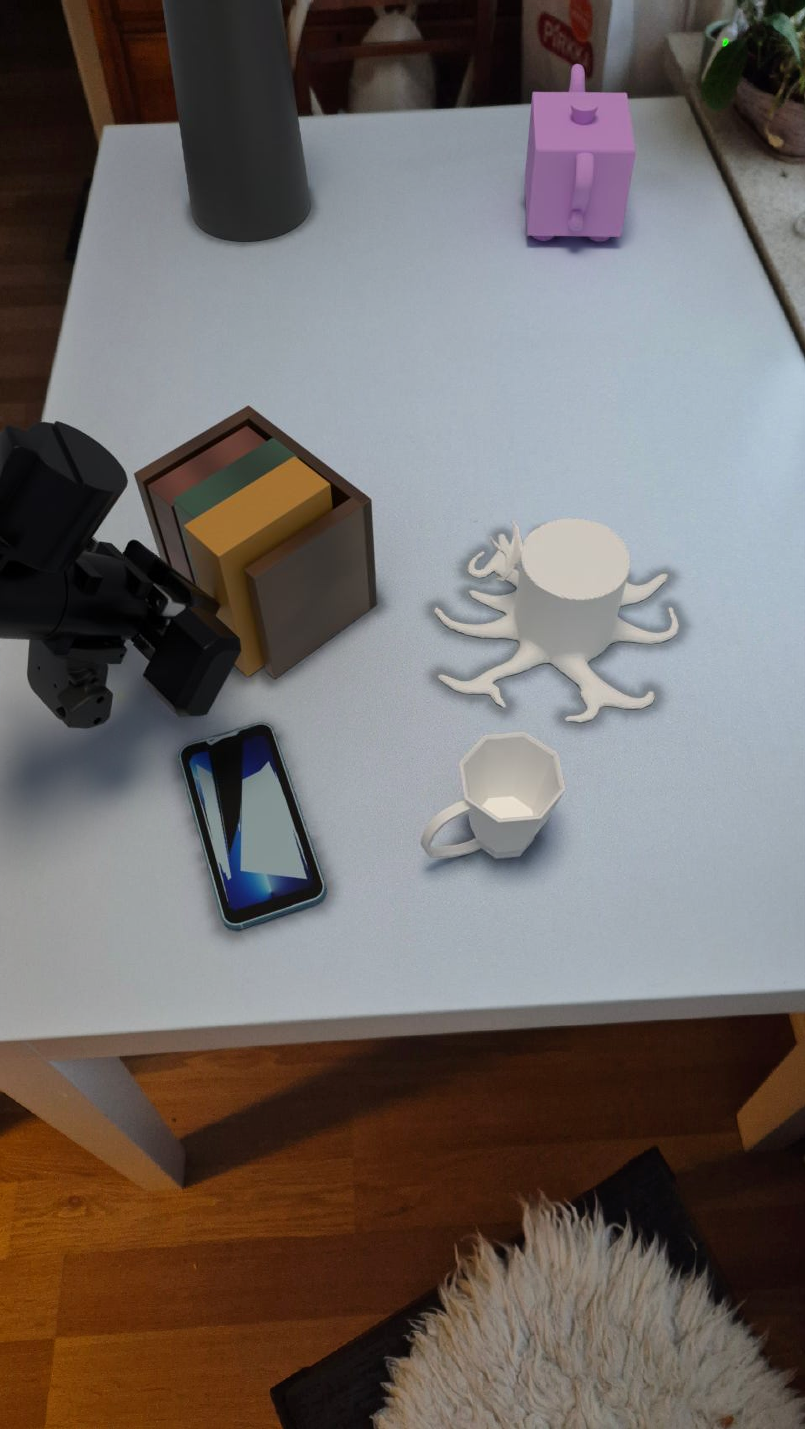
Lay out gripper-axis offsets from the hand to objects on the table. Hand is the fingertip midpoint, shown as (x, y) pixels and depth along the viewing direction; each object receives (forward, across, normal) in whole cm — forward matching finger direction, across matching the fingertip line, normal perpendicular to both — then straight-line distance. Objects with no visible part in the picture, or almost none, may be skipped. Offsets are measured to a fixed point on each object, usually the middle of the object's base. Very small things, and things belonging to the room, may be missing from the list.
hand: (214, 608), depth 74 cm
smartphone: (0, +12, -10) cm, 16 cm away
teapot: (+53, -24, +42) cm, 72 cm away
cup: (+8, +25, -3) cm, 26 cm away
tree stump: (+21, +15, +10) cm, 28 cm away
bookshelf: (+10, -4, 0) cm, 11 cm away
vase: (+35, -50, +24) cm, 66 cm away
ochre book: (+9, 0, -2) cm, 9 cm away
